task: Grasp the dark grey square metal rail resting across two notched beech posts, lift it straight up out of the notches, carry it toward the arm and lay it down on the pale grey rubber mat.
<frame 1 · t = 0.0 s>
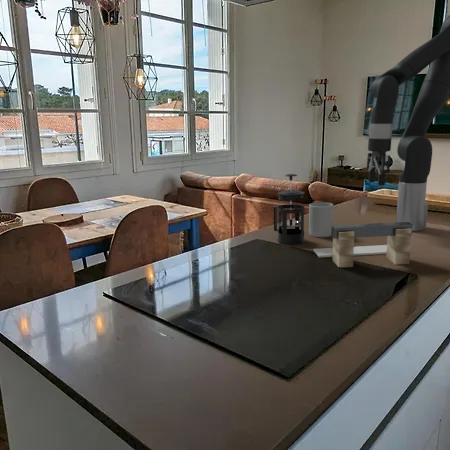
hand: (376, 183, 151), 17 cm above the kitchen island, tool pointing down, fingers open, 8 cm apart
post 1: (342, 263, 121), on the kitchen island
french press: (289, 241, 146), on the kitchen island
mug: (320, 233, 154), on the kitchen island
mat: (357, 251, 131), on the kitchen island
rail: (371, 235, 119), point 8 cm above the kitchen island, touching post 2, post 1
post 2: (397, 260, 122), on the kitchen island
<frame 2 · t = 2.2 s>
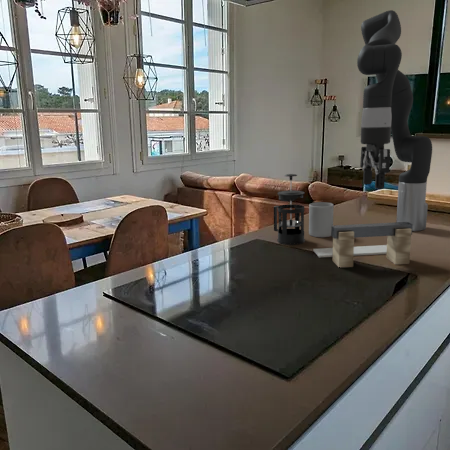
hand: (373, 186, 116), 22 cm above the kitchen island, tool pointing down, fingers open, 8 cm apart
nothing on the kitchen island moved.
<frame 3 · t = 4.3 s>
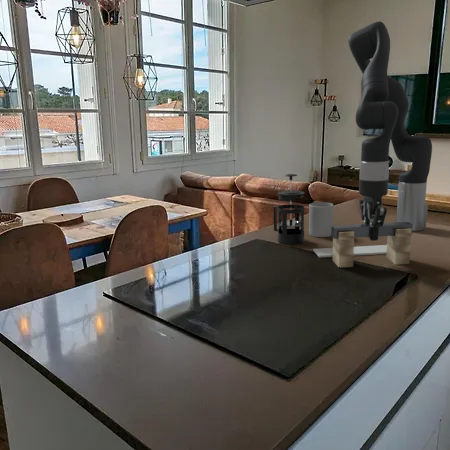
hand: (371, 238, 120), 7 cm above the kitchen island, tool pointing down, fingers closed on rail, 3 cm apart
rail: (371, 235, 119), point 8 cm above the kitchen island, touching gripper, post 2, post 1
everything else where it was.
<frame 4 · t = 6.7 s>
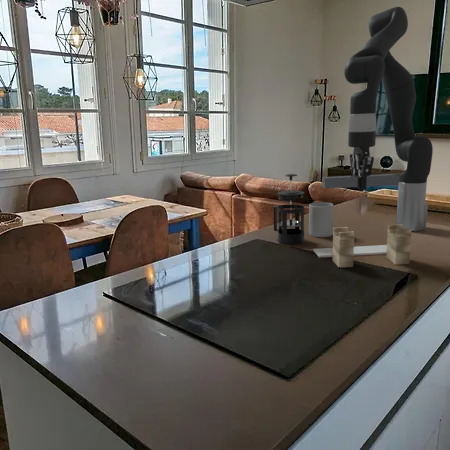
hand: (359, 188, 126), 20 cm above the kitchen island, tool pointing down, fingers closed on rail, 3 cm apart
rail: (359, 186, 126), point 21 cm above the kitchen island, touching gripper
everything else where it was.
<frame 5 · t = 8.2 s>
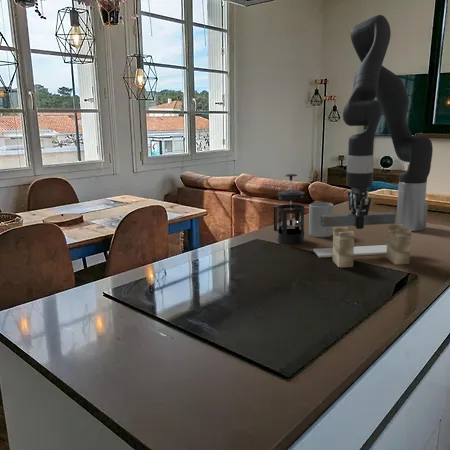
hand: (357, 226, 129), 8 cm above the kitchen island, tool pointing down, fingers closed on rail, 3 cm apart
rail: (357, 224, 129), point 9 cm above the kitchen island, touching gripper
everything else where it was.
when the fingers open (2 cm above the kitchen island, at t = 9.6 s): rail drops 2 cm, resting on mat.
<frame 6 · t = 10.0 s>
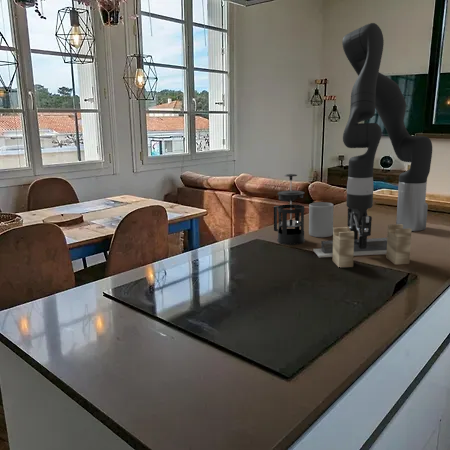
hand: (357, 244, 130), 2 cm above the kitchen island, tool pointing down, fingers open, 7 cm apart
rail: (357, 249, 131), point 1 cm above the kitchen island, touching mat
everything else where it was.
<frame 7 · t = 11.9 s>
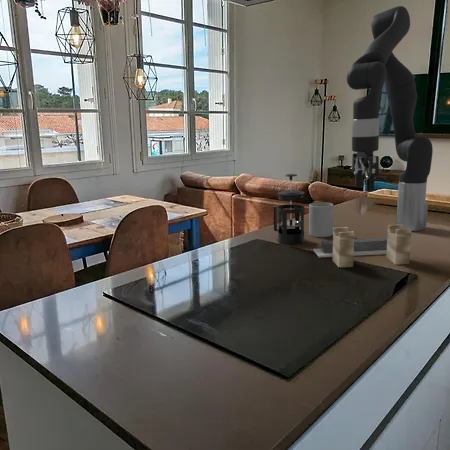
hand: (364, 189, 128), 19 cm above the kitchen island, tool pointing down, fingers open, 8 cm apart
nothing on the kitchen island moved.
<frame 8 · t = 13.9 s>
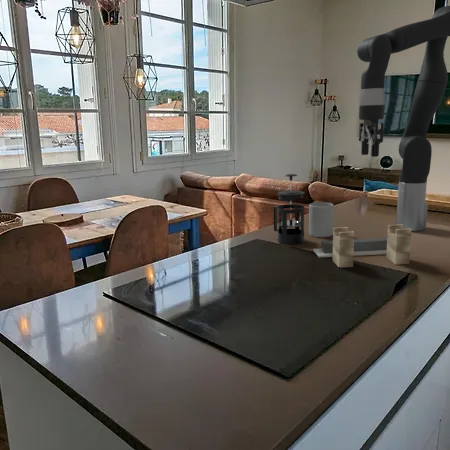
hand: (369, 155, 138), 28 cm above the kitchen island, tool pointing down, fingers open, 8 cm apart
nothing on the kitchen island moved.
at the end: rail inside the target area (0.0 cm from its centre), point 0.6 cm above the kitchen island; the gripper is holding nothing; rail touching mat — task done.
